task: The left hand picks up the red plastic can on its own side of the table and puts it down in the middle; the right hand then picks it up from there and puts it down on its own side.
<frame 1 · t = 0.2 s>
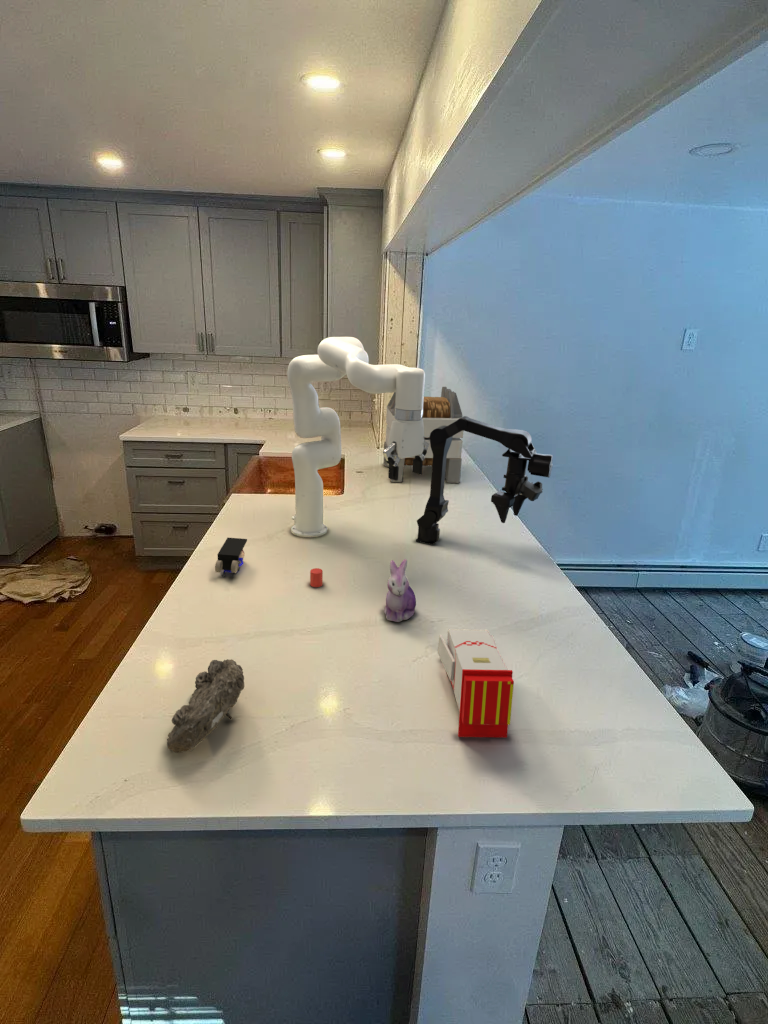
left hand: (405, 476, 158), 31 cm above the counter, tool pointing down, fingers open, 9 cm apart
right hand: (509, 519, 181), 13 cm above the counter, tool pointing down, fingers open, 9 cm apart
figurine: (399, 614, 147), on the counter
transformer: (419, 473, 275), on the counter
figurine character: (232, 569, 168), on the counter
can: (316, 584, 161), on the counter
toy: (469, 691, 119), on the counter
fossil: (212, 717, 108), on the counter
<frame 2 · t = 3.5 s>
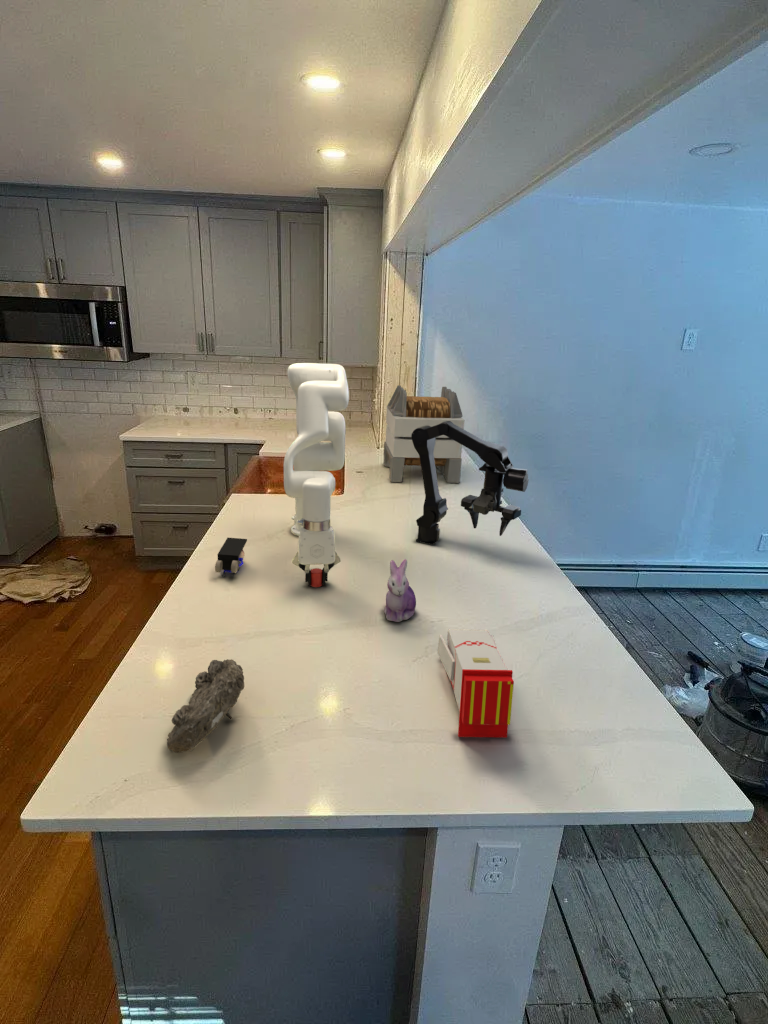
left hand: (316, 583, 161), 0 cm above the counter, tool pointing down, fingers closed on can, 3 cm apart
right hand: (487, 531, 183), 8 cm above the counter, tool pointing down, fingers open, 9 cm apart
can: (316, 584, 161), on the counter, touching left hand
everything else where it was.
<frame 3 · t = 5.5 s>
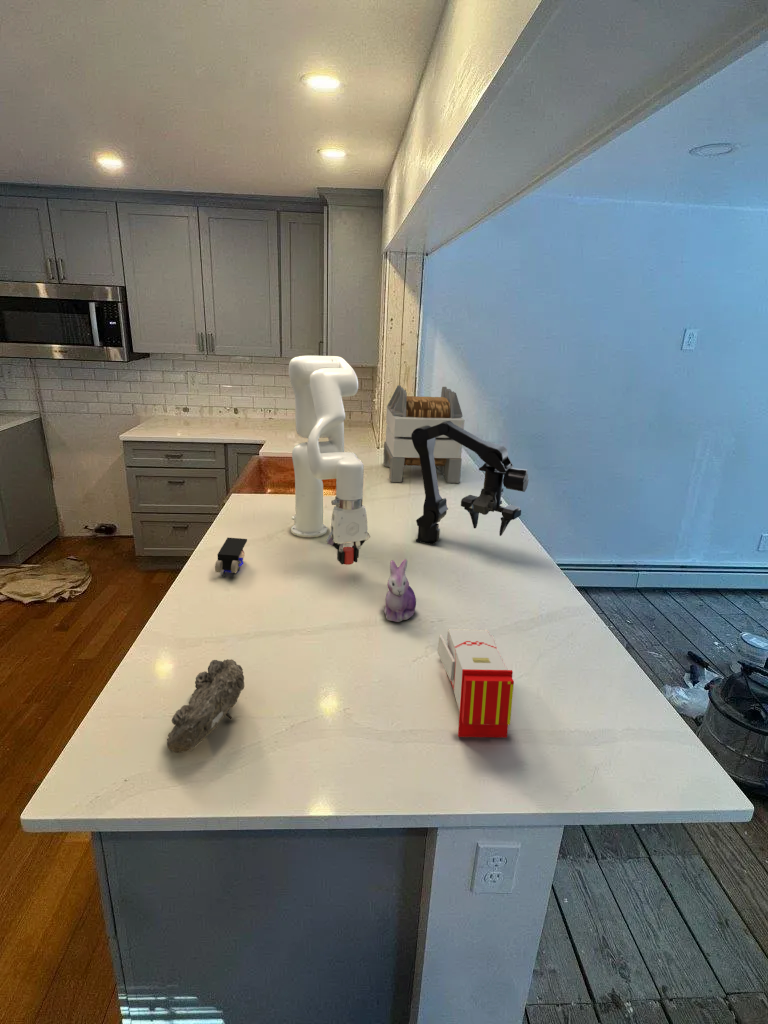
left hand: (347, 560, 166), 5 cm above the counter, tool pointing down, fingers closed on can, 3 cm apart
right hand: (487, 531, 183), 8 cm above the counter, tool pointing down, fingers open, 9 cm apart
can: (347, 562, 166), point 4 cm above the counter, touching left hand
everything else where it was.
when the left hand's fingers open (1 cm above the counter, at t = 7.6 s): can stays where it is, on the counter.
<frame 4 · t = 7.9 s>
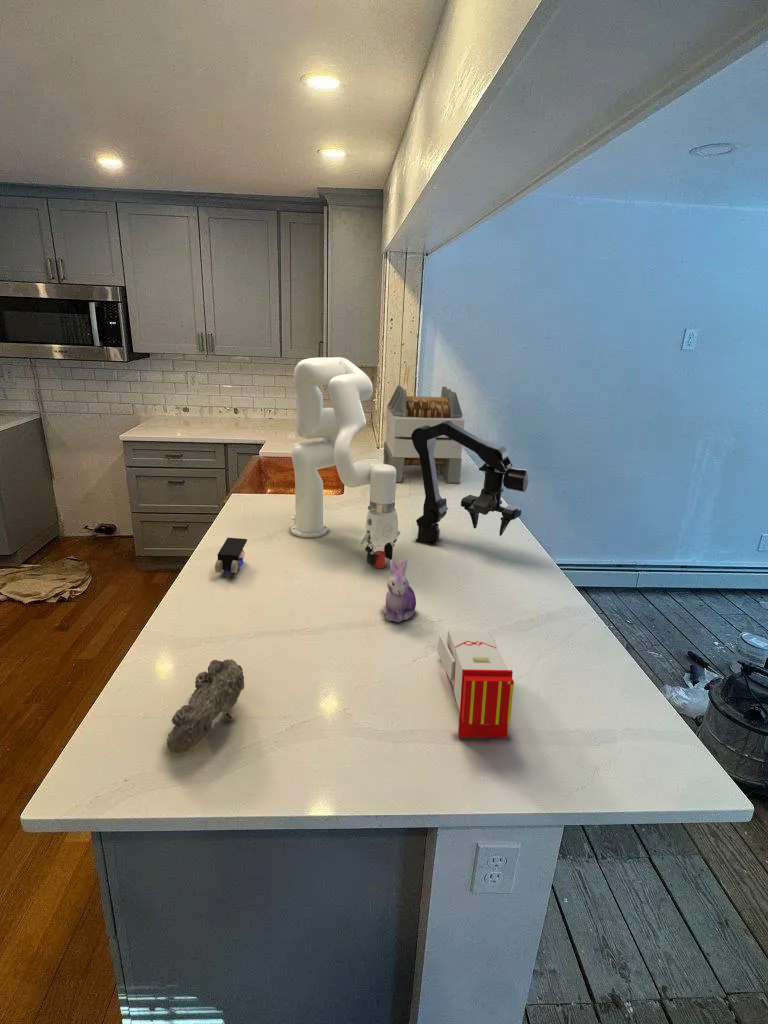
left hand: (379, 560, 174), 2 cm above the counter, tool pointing down, fingers open, 6 cm apart
right hand: (487, 531, 183), 8 cm above the counter, tool pointing down, fingers open, 9 cm apart
can: (379, 565, 175), on the counter
everything else where it was.
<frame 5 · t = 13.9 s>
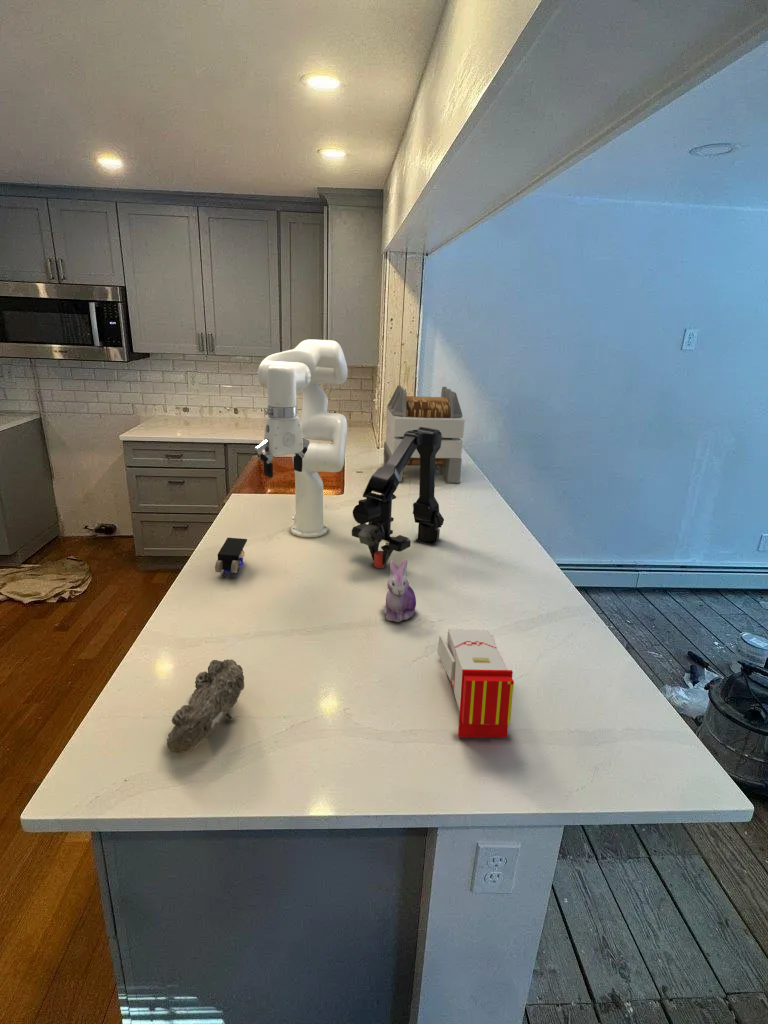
left hand: (283, 473, 158), 30 cm above the counter, tool pointing down, fingers open, 9 cm apart
right hand: (379, 562, 174), 1 cm above the counter, tool pointing down, fingers closed on can, 3 cm apart
can: (379, 565, 175), on the counter, touching right hand
everything else where it was.
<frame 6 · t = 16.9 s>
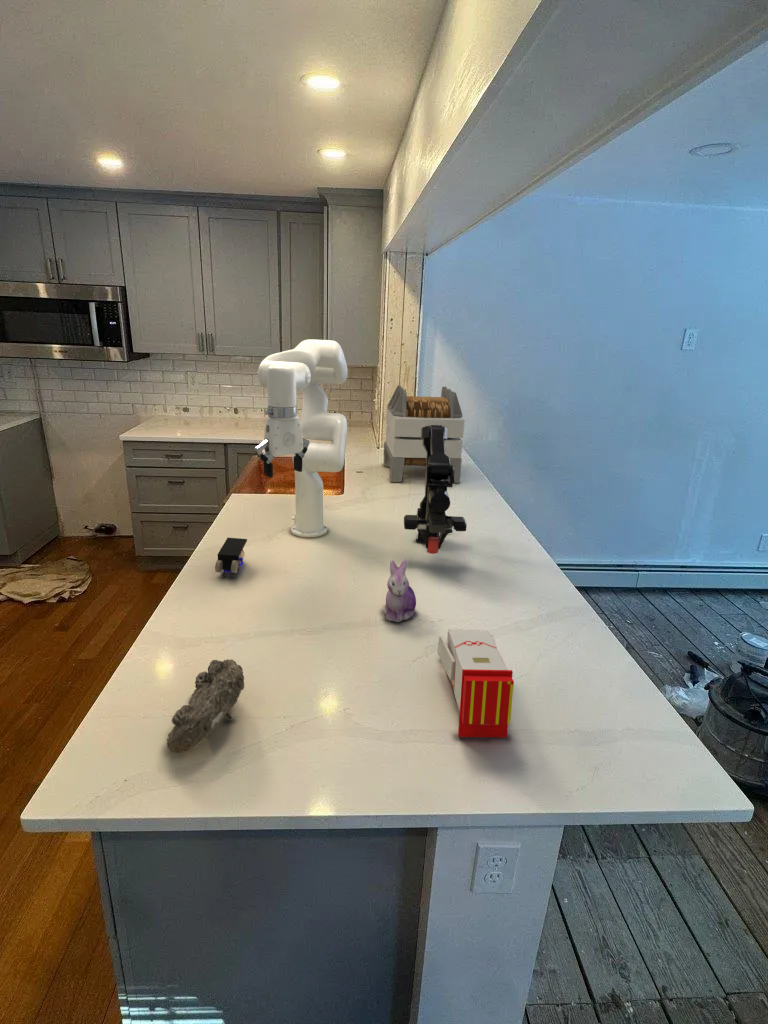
left hand: (283, 473, 158), 30 cm above the counter, tool pointing down, fingers open, 9 cm apart
right hand: (432, 548, 176), 5 cm above the counter, tool pointing down, fingers closed on can, 3 cm apart
can: (432, 551, 176), point 4 cm above the counter, touching right hand
everything else where it was.
when the right hand's fingers open (2 cm above the counter, at t = 20.1 s): can stays where it is, on the counter.
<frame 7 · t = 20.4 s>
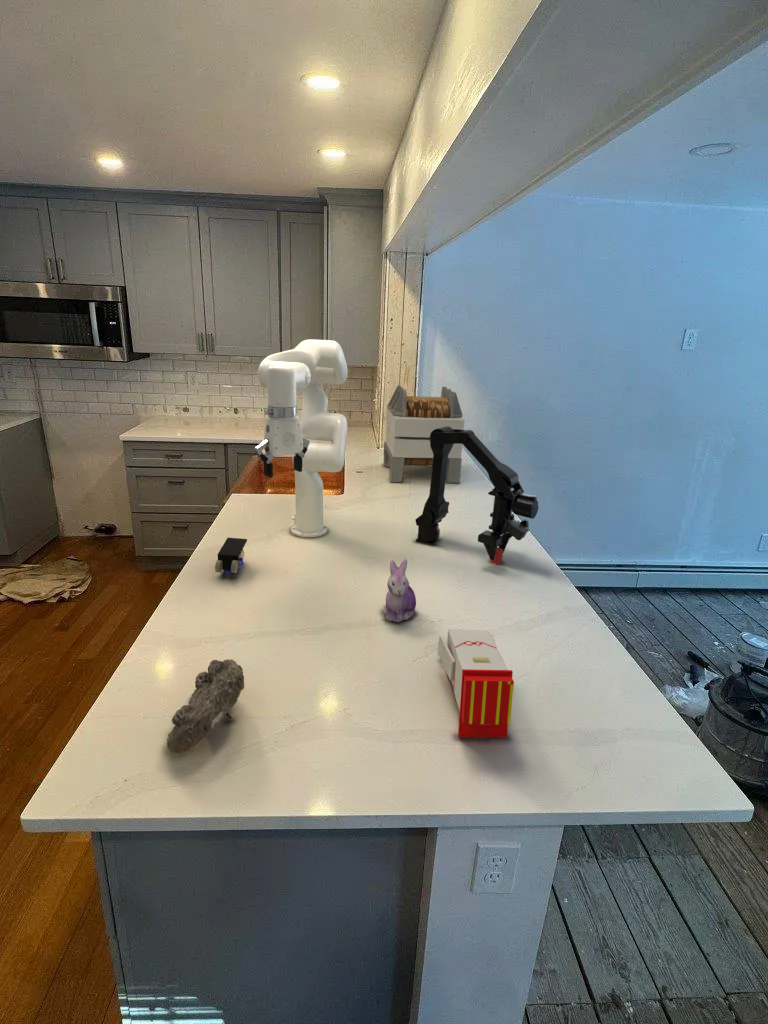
left hand: (283, 473, 158), 30 cm above the counter, tool pointing down, fingers open, 9 cm apart
right hand: (496, 556, 181), 2 cm above the counter, tool pointing down, fingers open, 7 cm apart
can: (496, 561, 181), on the counter
everything else where it was.
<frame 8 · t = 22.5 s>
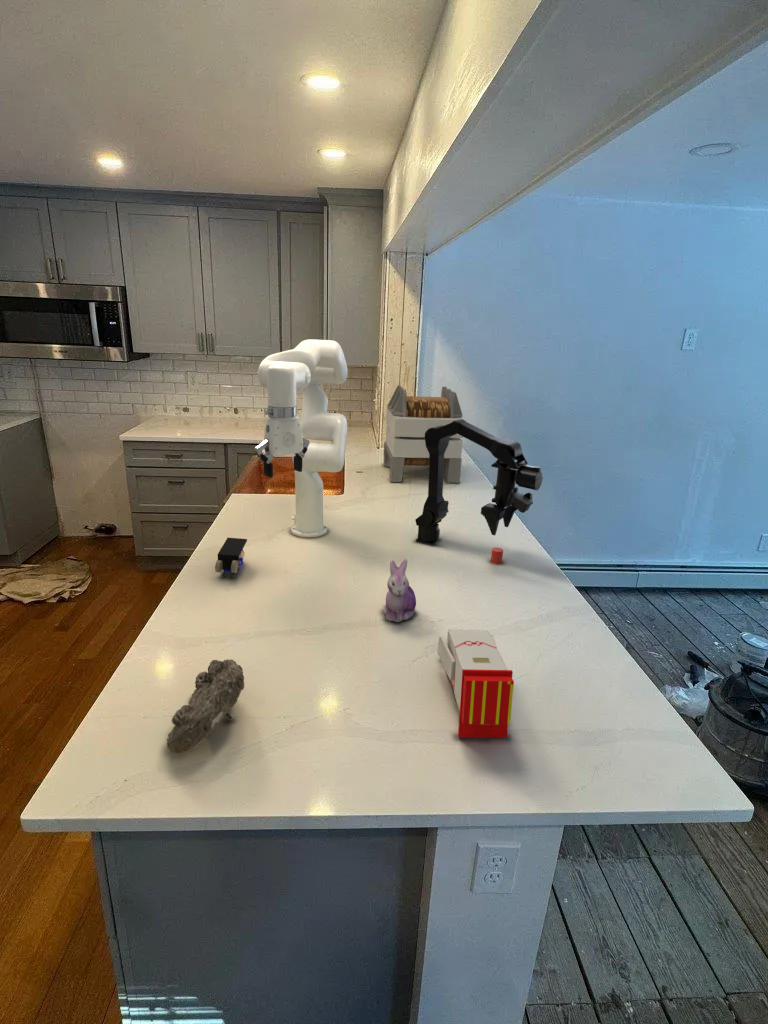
left hand: (283, 473, 158), 30 cm above the counter, tool pointing down, fingers open, 9 cm apart
right hand: (500, 530, 177), 11 cm above the counter, tool pointing down, fingers open, 9 cm apart
nothing on the counter moved.
at the end: can inside the target area (0.0 cm from its centre), on the counter; can tilted 0°; the two hands never held the can at the same time; the left hand is holding nothing; the right hand is holding nothing; can at rest at the end (0.0 cm/s) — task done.
